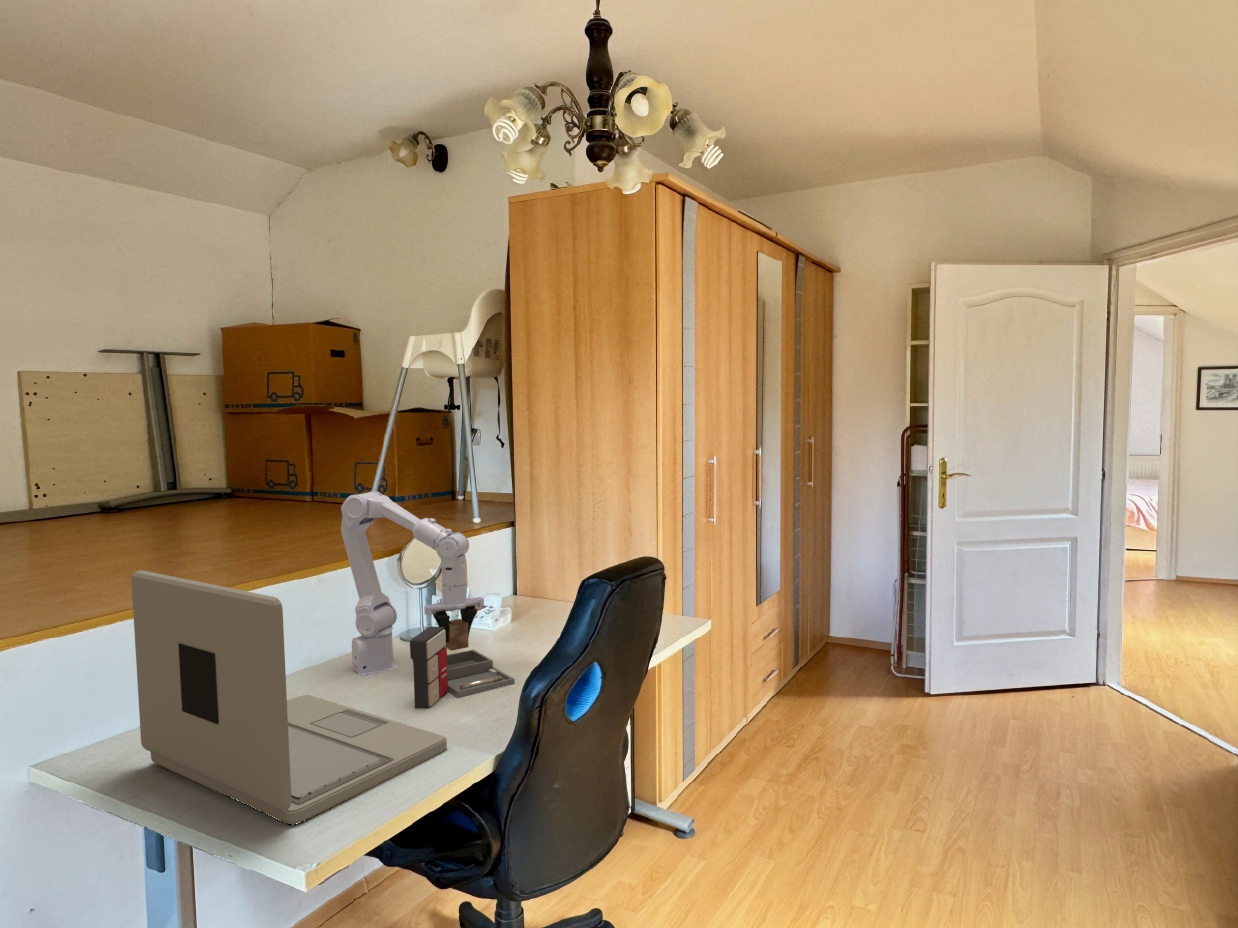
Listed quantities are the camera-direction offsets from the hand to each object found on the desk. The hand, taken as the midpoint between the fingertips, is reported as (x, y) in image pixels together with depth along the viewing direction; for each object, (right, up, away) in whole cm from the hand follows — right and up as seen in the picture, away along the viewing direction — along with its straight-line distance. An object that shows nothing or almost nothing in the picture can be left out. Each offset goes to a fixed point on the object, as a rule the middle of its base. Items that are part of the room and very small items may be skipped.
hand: (455, 639), depth 191 cm
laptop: (-20, -12, -46) cm, 51 cm away
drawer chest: (-2, -10, -18) cm, 20 cm away
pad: (-1, -7, +12) cm, 14 cm away
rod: (+8, -7, -11) cm, 16 cm away
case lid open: (+7, -9, -9) cm, 14 cm away
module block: (0, -2, 0) cm, 2 cm away
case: (0, -8, 0) cm, 8 cm away
